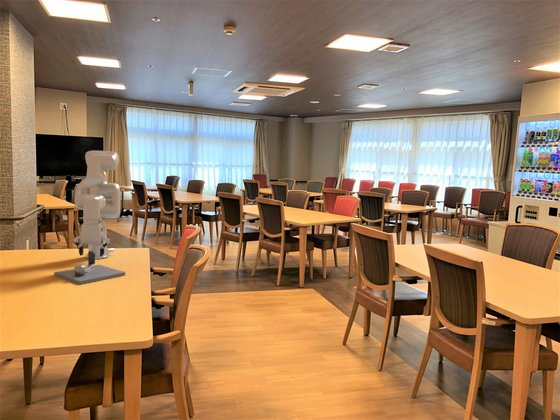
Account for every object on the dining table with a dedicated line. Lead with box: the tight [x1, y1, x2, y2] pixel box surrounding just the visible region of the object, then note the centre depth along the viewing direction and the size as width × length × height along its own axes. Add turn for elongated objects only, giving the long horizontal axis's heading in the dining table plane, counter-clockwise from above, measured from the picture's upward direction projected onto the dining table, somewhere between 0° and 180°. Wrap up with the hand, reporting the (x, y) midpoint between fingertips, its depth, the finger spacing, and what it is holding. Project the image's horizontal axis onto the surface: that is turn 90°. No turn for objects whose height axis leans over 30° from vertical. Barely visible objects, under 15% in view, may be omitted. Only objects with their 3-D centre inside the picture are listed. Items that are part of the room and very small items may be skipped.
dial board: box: [53, 264, 126, 285], centre depth 206 cm, size 23×22×2 cm
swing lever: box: [74, 251, 96, 276], centre depth 207 cm, size 20×4×8 cm, turn 5°
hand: (91, 255), depth 215 cm, fingers open, 9 cm apart
